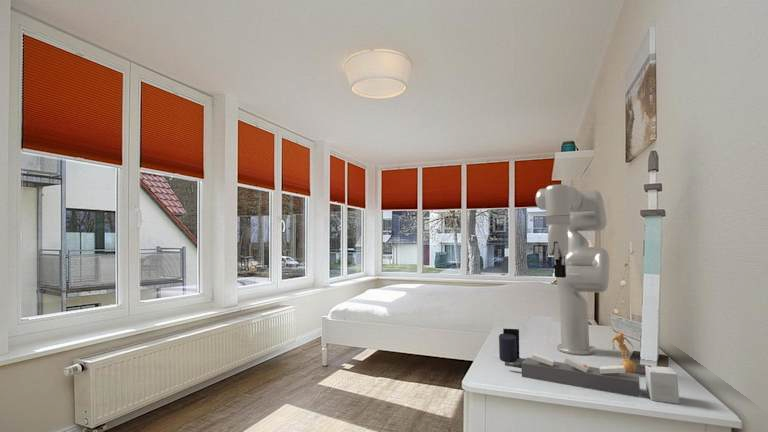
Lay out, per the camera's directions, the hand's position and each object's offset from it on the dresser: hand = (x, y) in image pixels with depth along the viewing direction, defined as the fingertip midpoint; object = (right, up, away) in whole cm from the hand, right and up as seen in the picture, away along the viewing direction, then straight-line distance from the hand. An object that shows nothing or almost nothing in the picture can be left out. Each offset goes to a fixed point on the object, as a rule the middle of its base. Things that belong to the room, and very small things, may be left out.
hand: (560, 277), depth 131 cm
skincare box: (+14, -27, -28) cm, 42 cm away
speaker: (-15, -30, +7) cm, 34 cm away
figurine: (+17, -29, -7) cm, 34 cm away
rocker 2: (-3, -23, -17) cm, 28 cm away
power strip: (-5, -28, -14) cm, 32 cm away
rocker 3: (+5, -22, -22) cm, 31 cm away
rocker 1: (-10, -23, -12) cm, 28 cm away
